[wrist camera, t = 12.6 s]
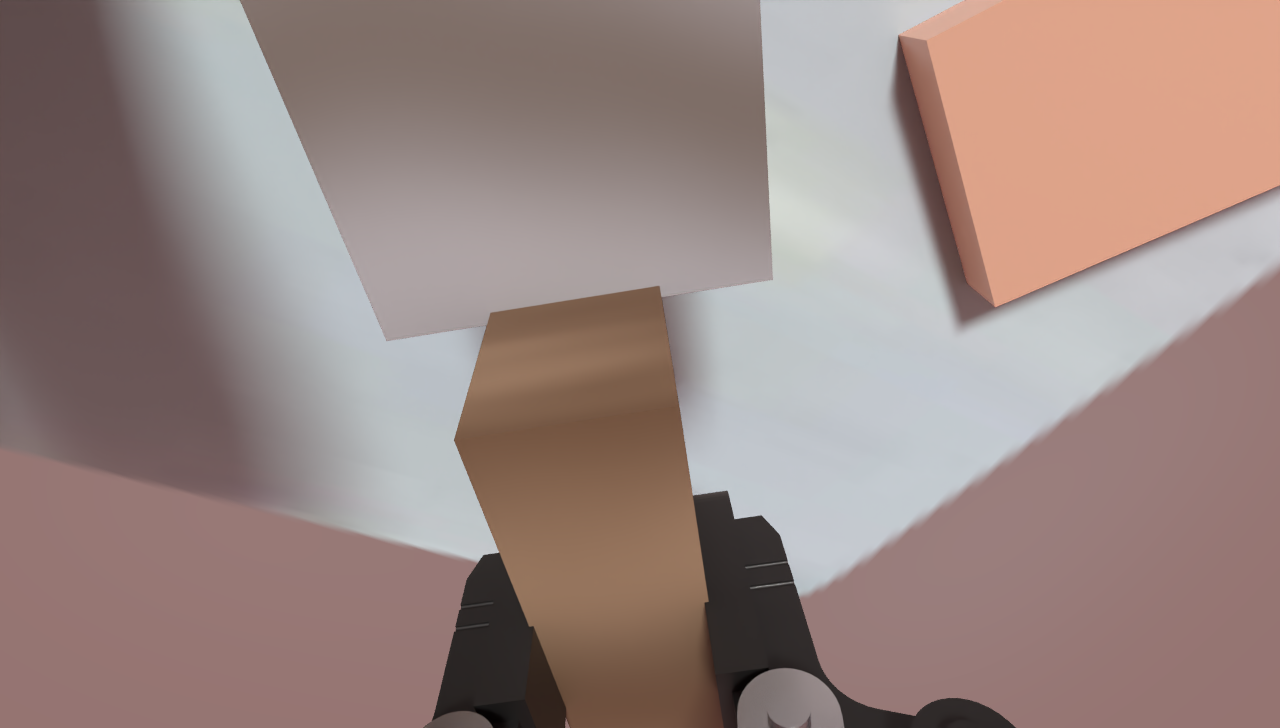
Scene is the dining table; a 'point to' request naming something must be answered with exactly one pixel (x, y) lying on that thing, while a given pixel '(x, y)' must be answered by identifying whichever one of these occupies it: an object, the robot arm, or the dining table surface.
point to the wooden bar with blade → (553, 279)
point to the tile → (1092, 125)
